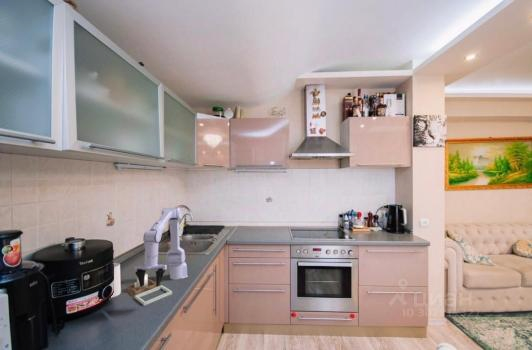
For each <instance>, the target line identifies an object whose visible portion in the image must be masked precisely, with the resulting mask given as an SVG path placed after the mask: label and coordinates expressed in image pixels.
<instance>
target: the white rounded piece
mask: <svg viewBox="0 0 532 350" xmlns="http://www.w3.org/2000/svg"><path fill="white" fill-rule="evenodd" d="M148 276H149V275H148V273H145V277H144V286H142V287H140V283H139V279H138V277H137V276H136V281H135V282H134V283H133V284H134V288H137V290H141V289H143V288H146V287H148V279H149V277H148Z"/></svg>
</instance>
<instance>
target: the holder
mask: <svg viewBox="0 0 532 350" xmlns="http://www.w3.org/2000/svg"><path fill="white" fill-rule="evenodd" d="M159 286H160V285H159ZM159 286H156V282H155V281H153V280H152V279H151V278H148V287H146V288H143V289H141V290H137V288H134V283H132V284H129V285H127V286H126V287H127V288H124V289H123V290H124V291H125V292H126V293H128V295H130V296H131V297H132V298H134V299H135V295H138V294H141V293H143V292H146V291H148V290H151V289H154V288H156V287H159Z"/></svg>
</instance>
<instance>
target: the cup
mask: <svg viewBox="0 0 532 350" xmlns="http://www.w3.org/2000/svg"><path fill="white" fill-rule="evenodd" d="M112 263H113V264H114V293H113V295H112V296H111V298H110V299H112V298H116V297H118V296H119V295H120V294H121V293H122V288H121V287H122V284H121V263H119V262H112Z"/></svg>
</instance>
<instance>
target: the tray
mask: <svg viewBox="0 0 532 350" xmlns="http://www.w3.org/2000/svg"><path fill="white" fill-rule="evenodd" d="M159 290H163V291H165V293H162V294H160V295H158V296H155V297H153V298H151V299H148V300H146V301H145V300H144V299H143V298H141V297H145V296H147V295H149V294H152V293H154V292H156V291H159ZM167 297H168V298H170V297H173V290H170V289H169V288H168V287H166V286H164V285H161V284H160V285H159V287H156V288H154V289H151V290H148V291H146V292H143V293H141V294H138V295H135V298H134V299H135V300H137V301H138V302H139V303H140V304H142V305H143V308H147V307H149V306H152V305H154V304H156V303H158V301H159V302H161V301H164V300H166V299H168V298H167ZM165 298H166V299H165Z"/></svg>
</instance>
